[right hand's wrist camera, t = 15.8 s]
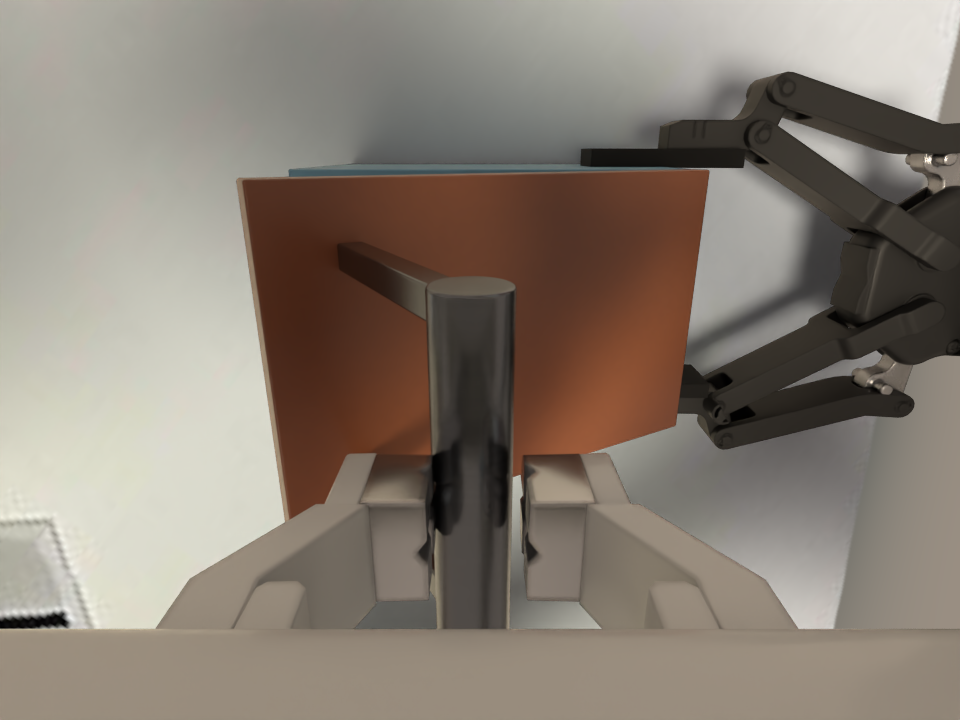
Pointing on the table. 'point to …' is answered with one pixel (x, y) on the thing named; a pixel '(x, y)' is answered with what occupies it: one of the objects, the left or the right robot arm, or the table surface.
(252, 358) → the table surface
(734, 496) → the table surface
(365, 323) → the lid
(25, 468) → the table surface
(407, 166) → the chest
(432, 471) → the right robot arm
